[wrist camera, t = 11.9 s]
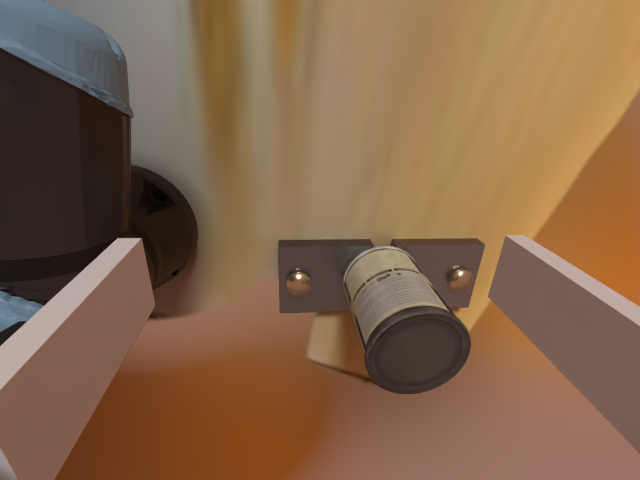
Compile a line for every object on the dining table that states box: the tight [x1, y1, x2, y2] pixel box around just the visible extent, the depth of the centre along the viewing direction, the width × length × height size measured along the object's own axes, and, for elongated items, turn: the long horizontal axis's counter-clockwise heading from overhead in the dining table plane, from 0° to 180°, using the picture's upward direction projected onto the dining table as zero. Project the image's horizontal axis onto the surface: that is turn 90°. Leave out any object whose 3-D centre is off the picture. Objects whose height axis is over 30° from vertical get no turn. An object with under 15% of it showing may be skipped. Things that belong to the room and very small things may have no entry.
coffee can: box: [343, 246, 471, 394], centre depth 38 cm, size 10×10×14 cm
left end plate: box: [279, 239, 374, 313], centre depth 44 cm, size 12×10×3 cm
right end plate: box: [391, 239, 485, 308], centre depth 46 cm, size 12×10×3 cm
